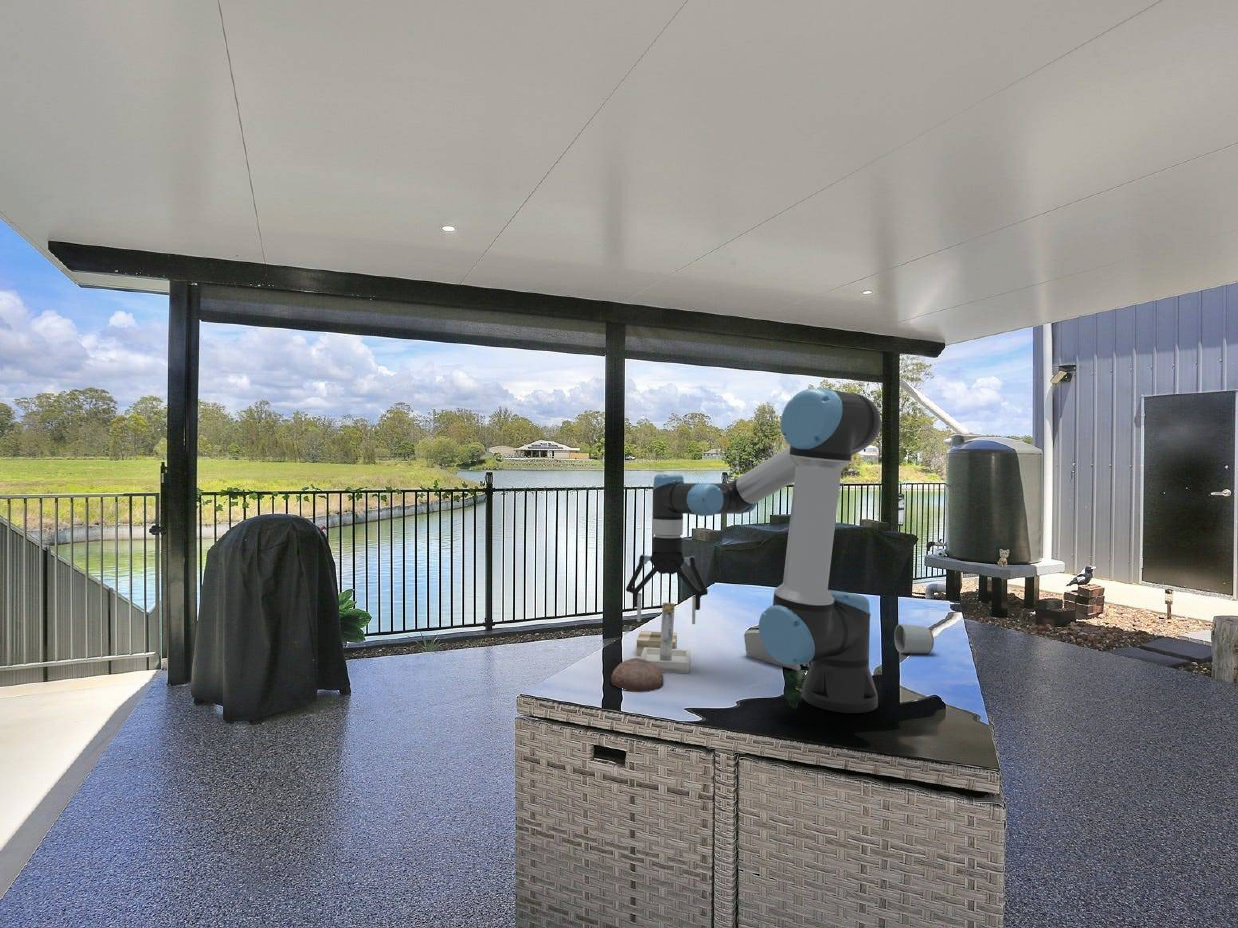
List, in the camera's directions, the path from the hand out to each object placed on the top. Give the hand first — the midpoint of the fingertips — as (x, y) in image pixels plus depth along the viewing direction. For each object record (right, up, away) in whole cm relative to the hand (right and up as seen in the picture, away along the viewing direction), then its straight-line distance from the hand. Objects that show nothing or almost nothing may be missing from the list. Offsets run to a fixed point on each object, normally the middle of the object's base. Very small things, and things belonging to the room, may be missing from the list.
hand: (666, 621), depth 163 cm
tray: (0, -11, 0) cm, 11 cm away
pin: (0, -10, 0) cm, 10 cm away
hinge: (+28, -12, +4) cm, 30 cm away
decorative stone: (-8, -11, -14) cm, 20 cm away
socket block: (-2, -11, +12) cm, 16 cm away
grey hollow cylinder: (+68, -12, +17) cm, 71 cm away
